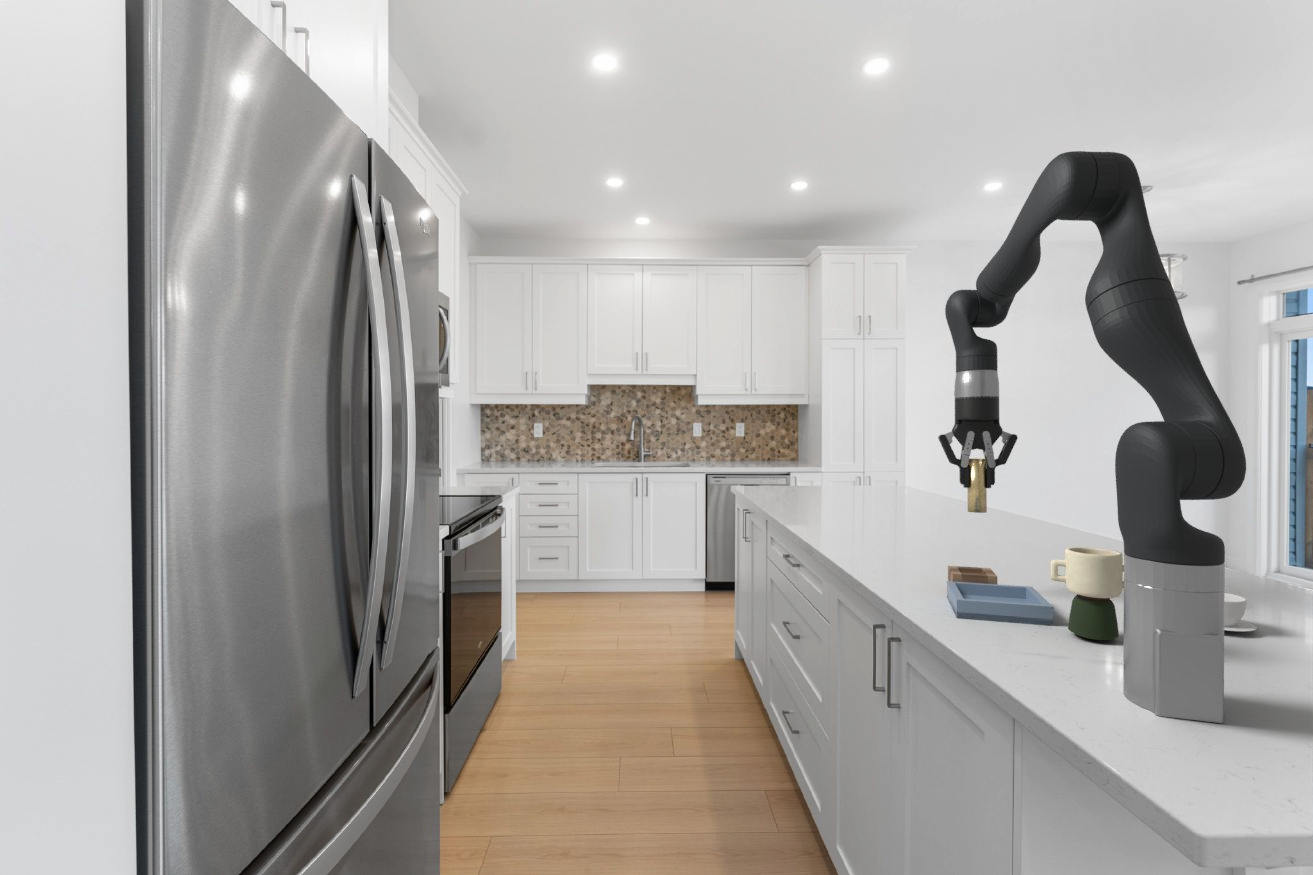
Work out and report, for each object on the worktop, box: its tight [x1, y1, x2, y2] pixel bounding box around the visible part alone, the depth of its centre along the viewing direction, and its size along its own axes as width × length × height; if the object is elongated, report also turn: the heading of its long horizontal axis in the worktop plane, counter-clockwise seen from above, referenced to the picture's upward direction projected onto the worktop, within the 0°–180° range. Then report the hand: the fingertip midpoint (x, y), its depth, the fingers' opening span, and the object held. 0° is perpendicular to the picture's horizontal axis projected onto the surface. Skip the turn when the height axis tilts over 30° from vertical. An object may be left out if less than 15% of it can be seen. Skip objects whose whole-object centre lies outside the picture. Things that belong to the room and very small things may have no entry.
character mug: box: [1050, 546, 1124, 641], centre depth 96 cm, size 11×7×13 cm, turn 59°
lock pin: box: [966, 458, 988, 514], centre depth 121 cm, size 3×3×10 cm
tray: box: [946, 580, 1054, 627], centre depth 111 cm, size 14×14×3 cm
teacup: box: [1224, 592, 1258, 632], centre depth 103 cm, size 10×10×5 cm
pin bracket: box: [947, 565, 998, 584], centre depth 124 cm, size 8×8×4 cm
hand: (977, 487), depth 121 cm, fingers closed on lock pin, 3 cm apart
